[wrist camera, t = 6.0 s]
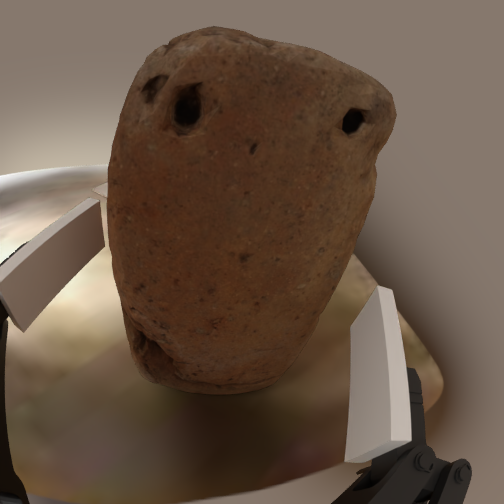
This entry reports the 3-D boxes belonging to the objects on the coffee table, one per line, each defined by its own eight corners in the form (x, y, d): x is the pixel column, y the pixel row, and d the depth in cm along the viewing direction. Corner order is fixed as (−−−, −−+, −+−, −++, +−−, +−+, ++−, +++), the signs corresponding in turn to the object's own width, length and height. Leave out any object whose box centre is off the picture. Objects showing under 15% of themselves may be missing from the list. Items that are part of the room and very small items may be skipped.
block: (264, 319, 24) (342, 73, 12) (284, 396, 18) (440, 96, 6) (138, 317, 21) (139, 39, 9) (132, 399, 15) (79, 16, 4)
